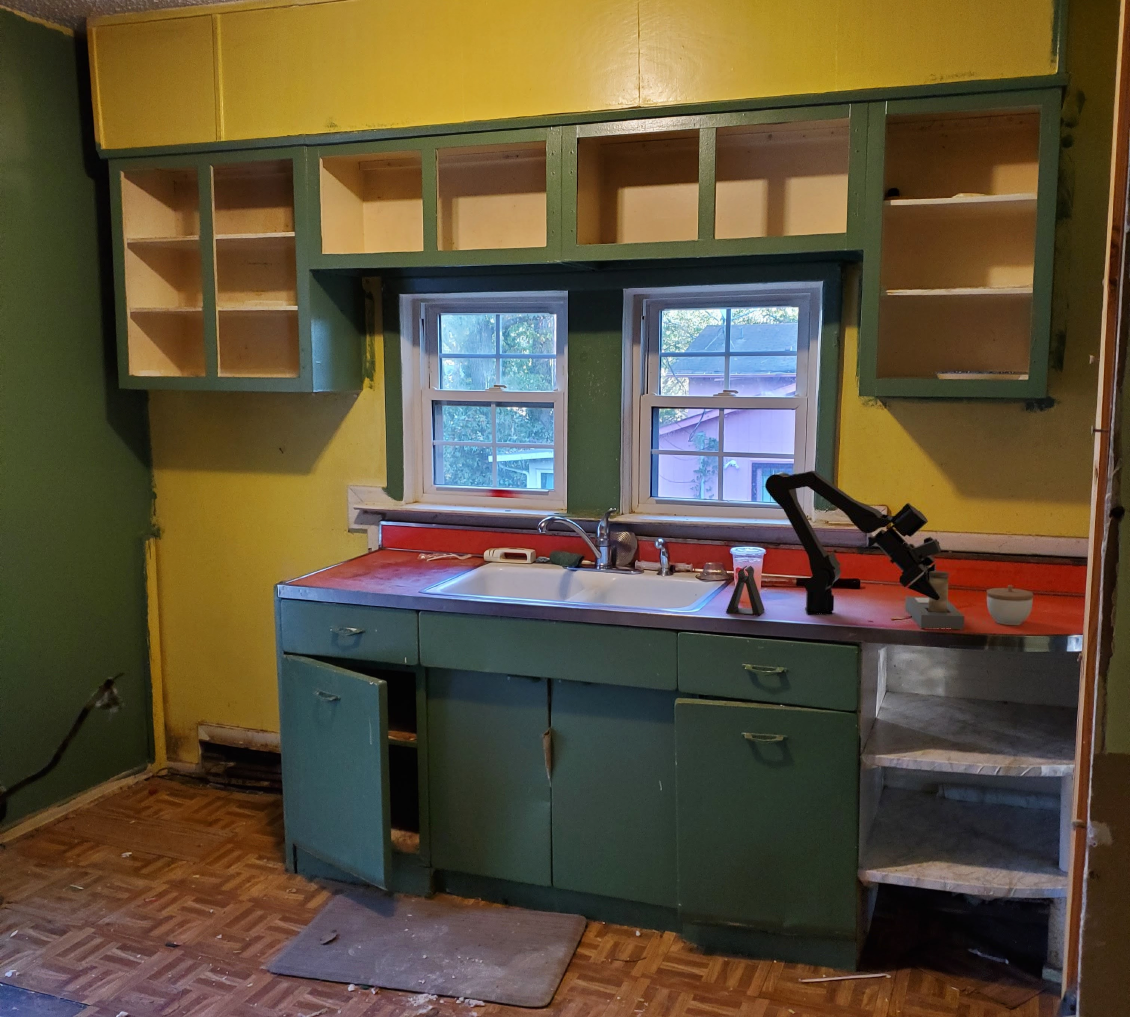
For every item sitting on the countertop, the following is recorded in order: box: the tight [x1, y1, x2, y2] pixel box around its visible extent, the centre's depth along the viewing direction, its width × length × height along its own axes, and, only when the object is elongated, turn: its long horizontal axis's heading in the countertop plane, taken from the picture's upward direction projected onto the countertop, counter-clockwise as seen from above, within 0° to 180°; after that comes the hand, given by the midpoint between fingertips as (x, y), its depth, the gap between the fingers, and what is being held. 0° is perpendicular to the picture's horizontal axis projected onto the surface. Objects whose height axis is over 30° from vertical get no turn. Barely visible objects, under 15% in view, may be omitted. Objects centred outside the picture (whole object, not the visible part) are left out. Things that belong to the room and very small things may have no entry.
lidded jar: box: [986, 584, 1034, 626], centre depth 262 cm, size 11×11×9 cm
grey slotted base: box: [904, 596, 965, 630], centre depth 266 cm, size 10×22×4 cm, turn 172°
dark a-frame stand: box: [725, 565, 766, 617], centre depth 275 cm, size 9×6×12 cm, turn 67°
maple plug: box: [928, 570, 950, 613], centre depth 261 cm, size 5×5×13 cm
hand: (941, 595), depth 260 cm, fingers open, 9 cm apart
